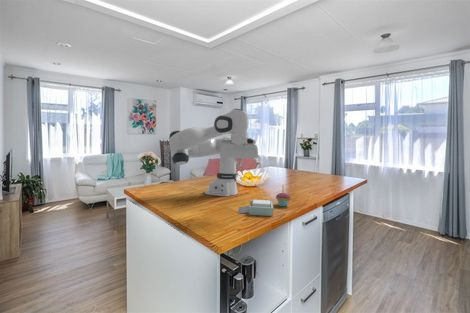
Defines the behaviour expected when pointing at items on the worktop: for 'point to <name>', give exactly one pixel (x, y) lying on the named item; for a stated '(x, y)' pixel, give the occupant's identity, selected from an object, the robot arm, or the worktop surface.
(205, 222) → the worktop surface
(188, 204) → the worktop surface
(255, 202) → the white rectangular block
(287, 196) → the cupcake
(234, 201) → the worktop surface
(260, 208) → the dock
